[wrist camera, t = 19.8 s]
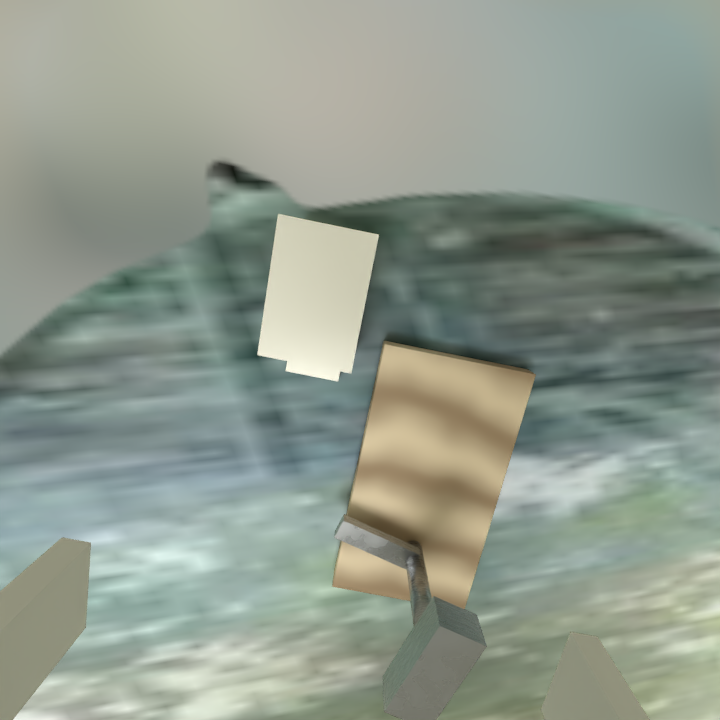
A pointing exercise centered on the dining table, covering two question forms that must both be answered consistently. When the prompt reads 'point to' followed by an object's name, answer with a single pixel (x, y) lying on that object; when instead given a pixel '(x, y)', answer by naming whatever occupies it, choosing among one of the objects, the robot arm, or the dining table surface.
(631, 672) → the dining table surface
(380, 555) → the t key
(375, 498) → the base plate
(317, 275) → the cream rectangular block
